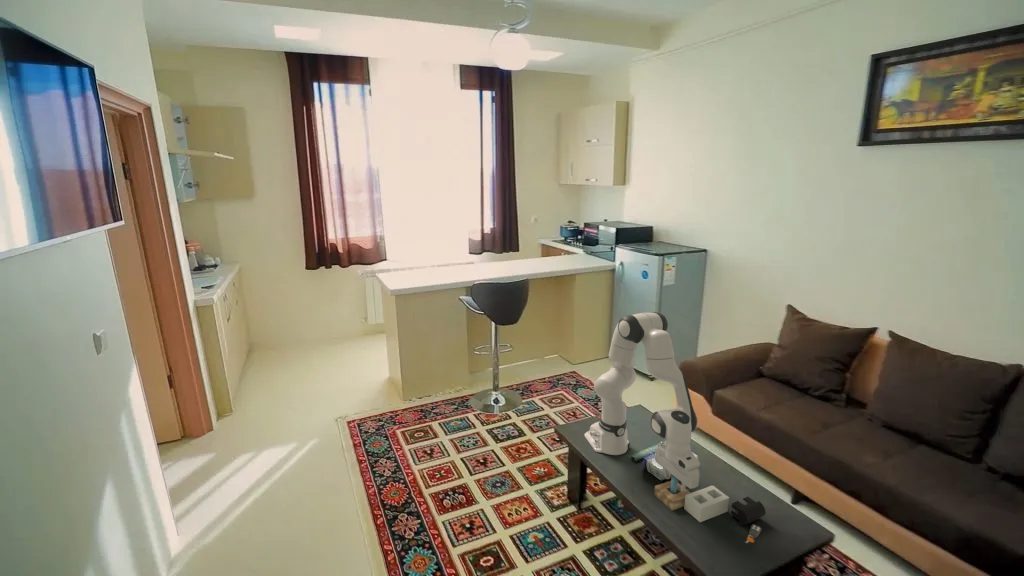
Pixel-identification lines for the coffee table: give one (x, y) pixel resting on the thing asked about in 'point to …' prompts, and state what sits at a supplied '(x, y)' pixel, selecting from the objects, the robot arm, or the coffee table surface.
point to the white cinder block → (706, 503)
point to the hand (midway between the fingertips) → (674, 484)
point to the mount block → (670, 496)
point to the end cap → (747, 511)
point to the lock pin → (674, 485)
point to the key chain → (753, 532)
